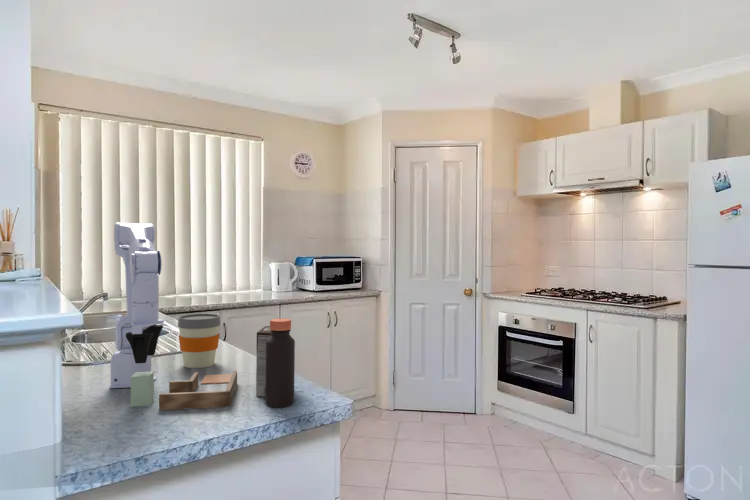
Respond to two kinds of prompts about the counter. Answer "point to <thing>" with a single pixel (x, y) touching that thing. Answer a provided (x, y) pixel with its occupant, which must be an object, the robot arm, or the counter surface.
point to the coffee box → (261, 360)
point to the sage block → (142, 389)
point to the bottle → (280, 365)
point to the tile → (216, 379)
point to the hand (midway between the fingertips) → (145, 359)
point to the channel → (196, 395)
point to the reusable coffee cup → (199, 339)
